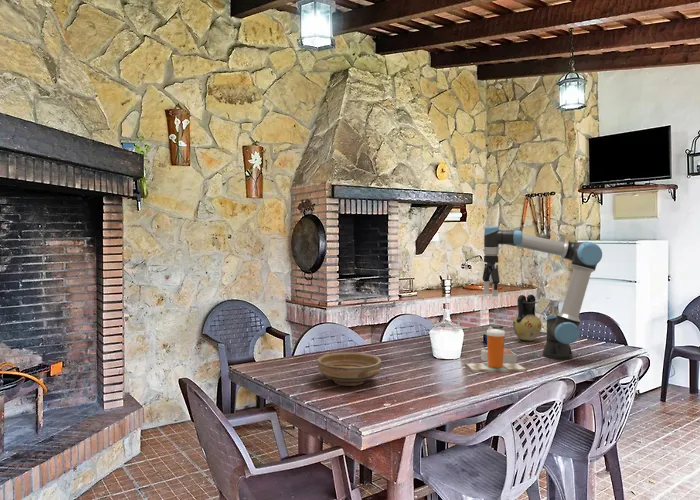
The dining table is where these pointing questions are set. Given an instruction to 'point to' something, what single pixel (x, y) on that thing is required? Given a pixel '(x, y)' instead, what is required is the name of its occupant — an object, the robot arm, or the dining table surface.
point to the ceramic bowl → (349, 367)
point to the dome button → (507, 351)
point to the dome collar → (510, 358)
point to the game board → (485, 368)
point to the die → (484, 355)
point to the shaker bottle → (495, 346)
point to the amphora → (526, 320)
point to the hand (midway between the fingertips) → (490, 294)
